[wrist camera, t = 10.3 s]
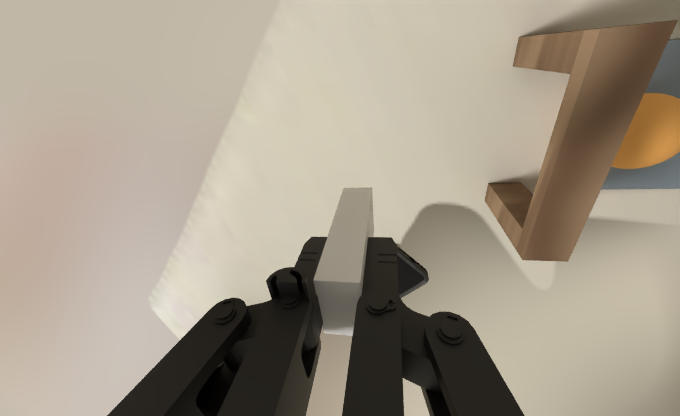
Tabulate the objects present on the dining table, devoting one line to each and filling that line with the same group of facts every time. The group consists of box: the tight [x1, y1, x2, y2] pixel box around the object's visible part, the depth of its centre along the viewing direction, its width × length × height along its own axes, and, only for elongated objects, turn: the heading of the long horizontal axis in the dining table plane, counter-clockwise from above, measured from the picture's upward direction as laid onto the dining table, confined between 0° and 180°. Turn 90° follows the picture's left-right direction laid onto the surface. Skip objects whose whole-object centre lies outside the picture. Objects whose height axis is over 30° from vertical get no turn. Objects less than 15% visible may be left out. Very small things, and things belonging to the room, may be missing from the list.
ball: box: [611, 93, 680, 169], centre depth 20 cm, size 6×6×6 cm
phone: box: [397, 247, 429, 298], centre depth 37 cm, size 8×1×15 cm
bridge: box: [485, 20, 678, 261], centre depth 20 cm, size 3×14×9 cm, turn 5°
